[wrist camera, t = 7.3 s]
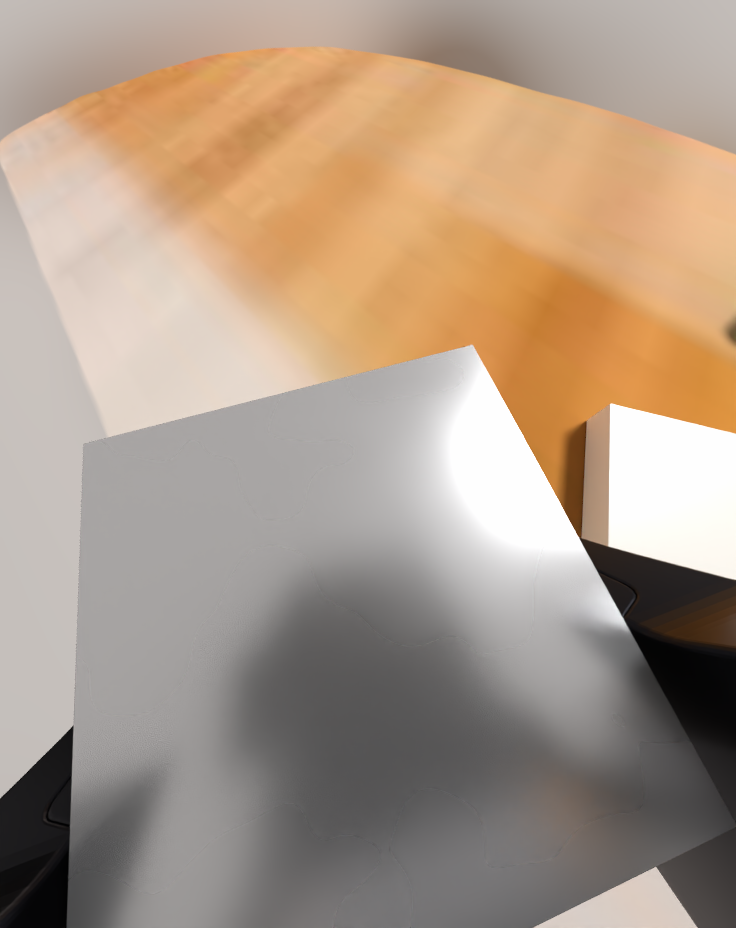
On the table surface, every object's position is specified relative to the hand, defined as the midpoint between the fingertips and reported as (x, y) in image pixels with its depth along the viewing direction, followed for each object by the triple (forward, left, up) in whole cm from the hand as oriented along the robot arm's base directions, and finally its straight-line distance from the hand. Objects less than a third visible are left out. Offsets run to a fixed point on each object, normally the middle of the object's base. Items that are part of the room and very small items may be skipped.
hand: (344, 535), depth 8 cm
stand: (+2, -18, -9) cm, 20 cm away
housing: (-1, 0, -5) cm, 5 cm away
